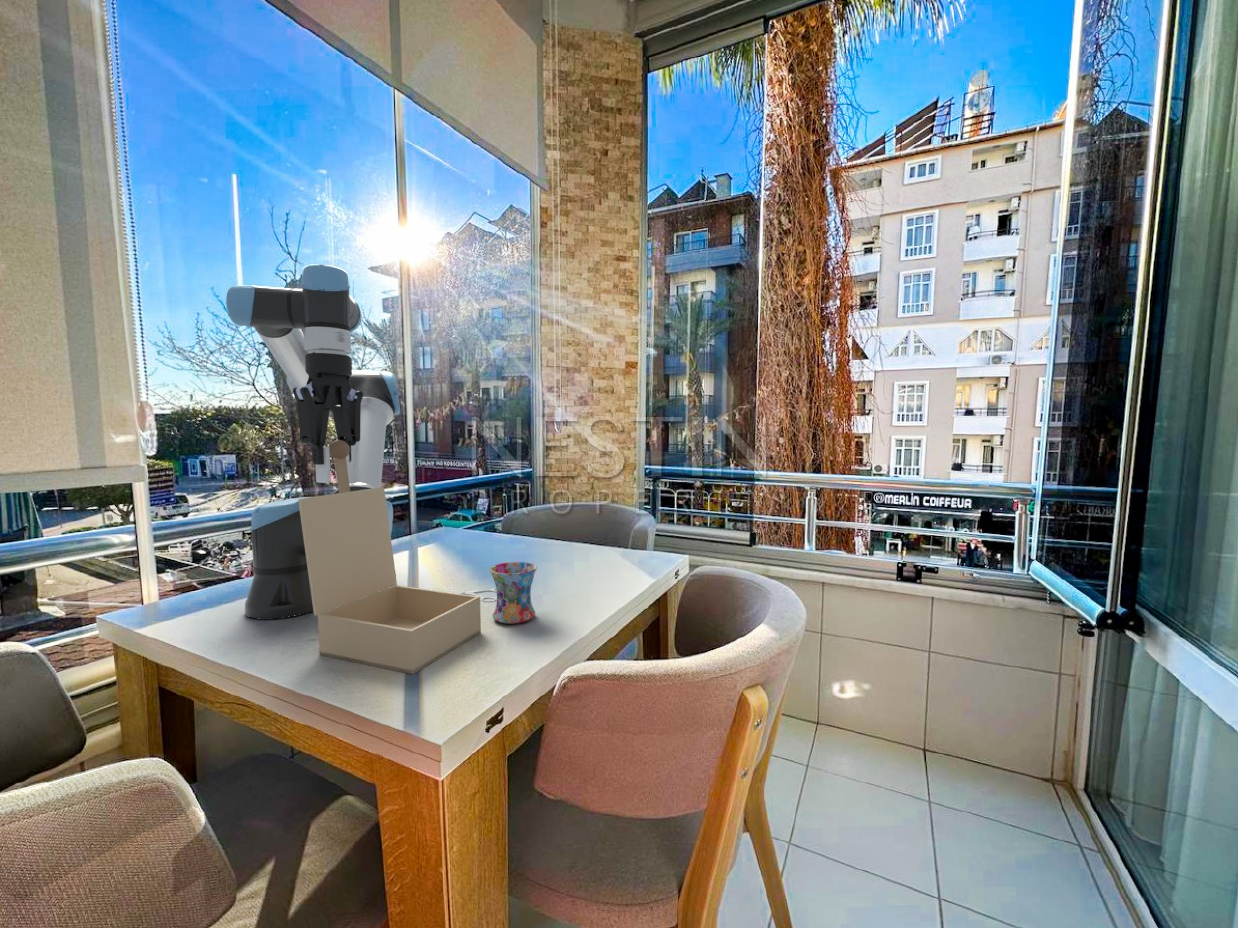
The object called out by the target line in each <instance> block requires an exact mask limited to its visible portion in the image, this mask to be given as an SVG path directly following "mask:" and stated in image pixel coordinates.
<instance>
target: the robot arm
mask: <svg viewBox="0 0 1238 928" xmlns="http://www.w3.org/2000/svg"><path fill="white" fill-rule="evenodd" d="M300 287H301V288H288V287H273V286H264V285H263V286H261V285H260V286H259V285H255V284H252V285H232V286H231V287H230V288H228V289H227V293H226V299H225V301H226V302H225V303H226V311H227V314H228V317H229V318H230V320H231V322H232V323H233V324H235V325H238V326H242V327H246V328H250V327H253V328H254V329H255V331H256V332H257V334H258V335H259V337H260V338H261V340H262V341H263V342H264V344H265V346H266V347H267V349H268V350H269V352H270V353H271V354H272V356H273V358H274V359H275V360H276V362H277V363H278V365H279V366H280V367H281V370H282V371H283V372H284V374H285V375H286V384H287V386H288V387H289V389H290V391H291V392H292V393H293V395H294V398H295V400H296V404H297V405H296V406H297V416H298V426H299V428H298V429H299V436H300V437H299V438H300V443H302V444H305V445H307V447H310V448H311V457H312V458H311V460H312V463H313V464H312V465H314V466H315V482H316V483H321V484H322V483H324V484H330V483H332V482H331V481H332V480H331V479H332V477H331V476H332V474H331V456H330V447H328V446H326V442H327V435H328V434H327V433H328V425H329V424H328V423H329V417H330V414H332V416H333V423H334V427H335V432H336V438H337V439H336V440H343V441H345V442H346V443H347V444H348V445H349V447H350V452H349V454H348V456H347V457H346V463H347V470H348V478H349V485H350V492H352V491H359V490H366V489H373V488H380V487H382V478H383V467H384V466H383V465H384V455H385V441H386V430H387V426H388V425H389V424H390V423H391V422H392V421H393V419H394V416H398V415H400V414H401V407H400V401H399V393H398V392H399V391H398V385H397V384H398V383H397V377H396V375H395V374H394V372H390V371H382V370H376V371H375V370H353V365H352V364H353V362H352V360H353V359H352V358H351V356H350V355H349V354H351V353H352V338H351V337H352V336H351V334H352V332H354V331H355V330H357V329H358V328H359V327H360V325H361V324H362V323H361V322H362V319H363V318H362V317H363V315H362V311H361V308H360V306H359V304H358V303H357V301H356V300H355V299H354V298H353V297H352V296H351V295H350V289H351V285H350V281H349V273H348V272H347V271H346V270H345V269H342V268H341V267H337V266H335V265H334V266H333V265H329V264H319V263H318V264H317V263H315V264H314V263H313V264H307V265H305V266H304V267H303V268H302V273H301V283H300ZM302 329H303V331H302ZM335 470H336V468H335ZM335 480H336V481H337V475H336V474H335ZM337 493H339V490H338V489H336V490H335V491H334V492H332V494H337ZM309 497H310V496H304V497H303V496H302V497H294V498H288V499H283V500H278V501H272V502H269V503H264V504H261V505H259V506H256V507H255V508H254V509H253V511H251V512H252V513H251V521H250V522H251V525H250V528H249V529H250V530H249V531H250V532H251V547H252V550H251V551H252V567H253V568H252V569H253V578H252V581H251V584H250V587H249V589H248V594H247V597H246V600H245V603H244V614H246V615H247V616H249V617H253V618H260V619H259V620H271V619H270V618H280V619H283V618H282V617H287V618H289V617H288V616H293V617H295V616H294V615H298V616H300V615H299V614H302V615H304V614H303V613H306V614H308V613H307V612H309V613H312V612H314V611H313V604H312V596H311V589H310V582H309V575H308V567H307V560H306V553H305V546H304V538H303V531H302V524H301V517H300V509H299V502H298V499H302V498H309ZM385 498H386V506H387V513H388V521H389V528H390V536H392V532H393V521H394V509H393V504H392V503H391V502H390V501H388V500H387V497H386V495H385ZM311 611H312V612H311ZM246 615H245V616H246ZM247 616H246V617H247ZM249 617H248V618H249ZM253 618H252V619H253Z"/></svg>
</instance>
